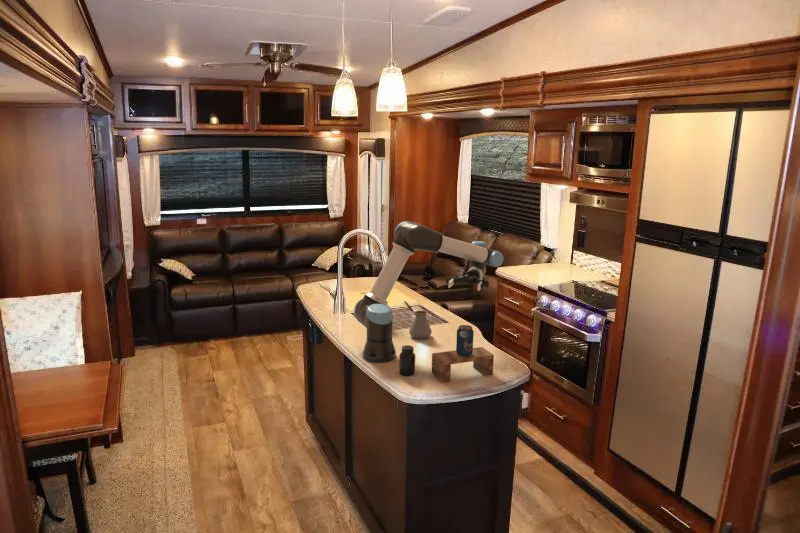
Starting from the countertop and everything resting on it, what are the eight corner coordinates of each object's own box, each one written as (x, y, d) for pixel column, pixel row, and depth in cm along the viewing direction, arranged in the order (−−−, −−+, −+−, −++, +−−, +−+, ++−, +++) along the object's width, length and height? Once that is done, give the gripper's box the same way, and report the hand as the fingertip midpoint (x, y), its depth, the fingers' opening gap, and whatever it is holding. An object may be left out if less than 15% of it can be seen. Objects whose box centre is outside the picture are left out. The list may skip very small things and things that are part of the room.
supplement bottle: (395, 374, 231) (396, 347, 228) (404, 369, 236) (405, 343, 234) (409, 378, 227) (409, 351, 224) (418, 373, 233) (418, 346, 230)
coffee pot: (436, 338, 275) (436, 309, 271) (417, 342, 269) (417, 313, 265) (412, 326, 292) (413, 299, 289) (394, 329, 286) (394, 302, 283)
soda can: (467, 358, 225) (468, 331, 223) (453, 354, 229) (454, 327, 227) (475, 353, 231) (476, 326, 228) (461, 349, 235) (462, 323, 232)
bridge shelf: (441, 382, 223) (442, 362, 221) (431, 373, 232) (432, 353, 231) (492, 374, 232) (493, 355, 230) (481, 366, 241) (482, 346, 239)
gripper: (498, 286, 266) (490, 297, 246) (448, 281, 274) (437, 291, 254) (499, 271, 264) (491, 281, 245) (448, 266, 272) (437, 275, 253)
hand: (463, 286), depth 249 cm, fingers open, 13 cm apart
